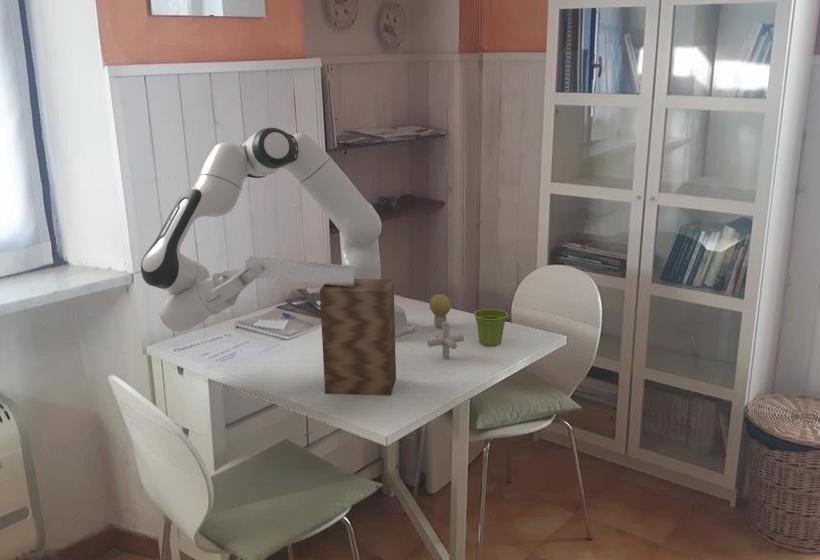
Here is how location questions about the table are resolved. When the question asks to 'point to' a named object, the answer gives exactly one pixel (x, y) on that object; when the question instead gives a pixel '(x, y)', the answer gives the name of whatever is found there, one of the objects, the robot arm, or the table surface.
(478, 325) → the plant pot
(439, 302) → the light bulb
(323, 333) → the walnut stand
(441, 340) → the pipe connector
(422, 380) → the table surface
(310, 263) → the aluminium bar
